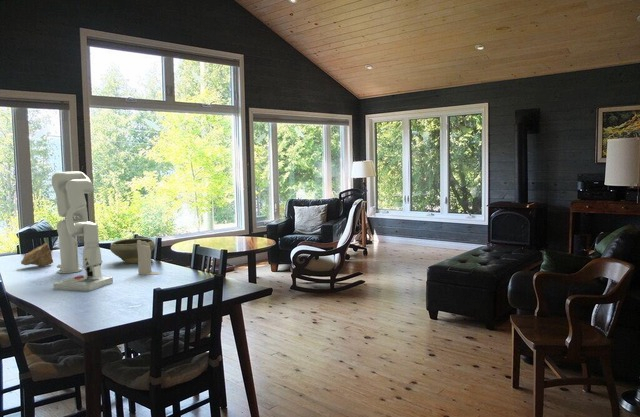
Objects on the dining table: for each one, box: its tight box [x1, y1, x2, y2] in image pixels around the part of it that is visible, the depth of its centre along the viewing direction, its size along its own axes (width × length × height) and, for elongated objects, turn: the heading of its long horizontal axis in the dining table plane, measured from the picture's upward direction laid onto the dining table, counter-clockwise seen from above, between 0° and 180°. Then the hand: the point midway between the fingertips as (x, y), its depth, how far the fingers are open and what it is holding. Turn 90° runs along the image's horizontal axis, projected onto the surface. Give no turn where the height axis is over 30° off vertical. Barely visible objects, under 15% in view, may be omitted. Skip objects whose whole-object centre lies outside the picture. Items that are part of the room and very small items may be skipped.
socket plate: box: [52, 274, 114, 292], centre depth 265 cm, size 22×18×4 cm
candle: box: [137, 240, 162, 276], centre depth 291 cm, size 7×14×20 cm, turn 78°
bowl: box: [109, 237, 156, 264], centre depth 330 cm, size 28×28×14 cm
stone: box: [20, 242, 54, 267], centre depth 320 cm, size 18×10×15 cm, turn 122°
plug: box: [85, 265, 102, 277], centre depth 282 cm, size 6×5×7 cm
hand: (93, 276), depth 282 cm, fingers closed on plug, 5 cm apart
